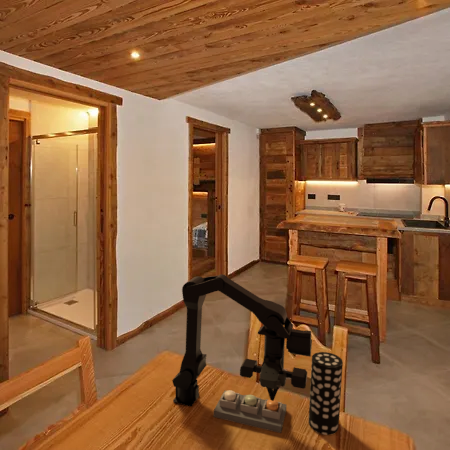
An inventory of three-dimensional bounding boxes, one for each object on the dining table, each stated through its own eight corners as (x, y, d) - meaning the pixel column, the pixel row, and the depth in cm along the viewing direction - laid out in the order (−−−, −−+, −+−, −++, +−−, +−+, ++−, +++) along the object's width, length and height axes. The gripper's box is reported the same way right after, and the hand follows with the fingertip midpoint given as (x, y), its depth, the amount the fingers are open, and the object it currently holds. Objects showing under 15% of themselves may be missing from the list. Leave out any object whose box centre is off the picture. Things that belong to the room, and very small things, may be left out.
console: (213, 416, 102) (213, 404, 101) (224, 396, 111) (224, 385, 111) (281, 433, 96) (281, 420, 95) (286, 410, 105) (286, 398, 105)
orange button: (265, 411, 100) (265, 405, 100) (267, 404, 103) (267, 398, 103) (277, 414, 99) (277, 407, 99) (279, 406, 102) (279, 400, 102)
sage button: (243, 406, 102) (243, 400, 102) (246, 399, 105) (246, 393, 105) (254, 409, 101) (255, 402, 101) (257, 402, 104) (257, 396, 104)
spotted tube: (340, 437, 95) (344, 369, 92) (309, 432, 96) (312, 365, 94) (336, 416, 103) (340, 353, 100) (308, 412, 104) (311, 350, 102)
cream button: (222, 401, 104) (223, 395, 104) (226, 395, 107) (226, 389, 107) (233, 404, 103) (233, 398, 103) (236, 397, 106) (237, 391, 106)
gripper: (234, 357, 94) (233, 410, 96) (304, 370, 88) (302, 425, 90) (245, 339, 104) (244, 387, 107) (308, 350, 99) (306, 400, 101)
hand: (272, 399), depth 101 cm, fingers closed
